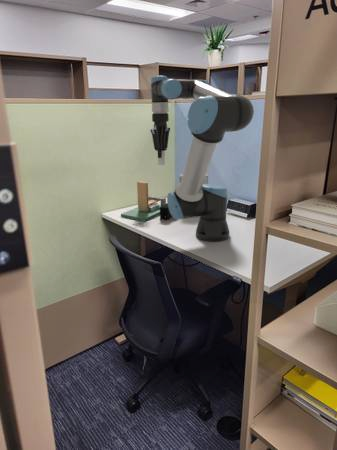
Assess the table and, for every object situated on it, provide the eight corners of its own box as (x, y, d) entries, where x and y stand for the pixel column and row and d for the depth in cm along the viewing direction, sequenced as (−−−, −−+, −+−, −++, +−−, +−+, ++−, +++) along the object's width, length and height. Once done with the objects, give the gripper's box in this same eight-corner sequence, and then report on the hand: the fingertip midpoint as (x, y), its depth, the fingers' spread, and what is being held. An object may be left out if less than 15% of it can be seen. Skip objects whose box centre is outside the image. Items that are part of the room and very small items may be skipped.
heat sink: (151, 212, 188) (150, 206, 187) (139, 209, 192) (139, 204, 191) (159, 208, 194) (159, 203, 193) (147, 206, 198) (147, 201, 197)
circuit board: (144, 221, 178) (144, 218, 177) (120, 216, 186) (120, 213, 186) (171, 209, 197) (171, 206, 197) (148, 205, 206) (148, 202, 205)
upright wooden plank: (147, 212, 187) (145, 183, 181) (138, 210, 190) (136, 181, 184) (162, 205, 198) (161, 177, 193) (154, 204, 201) (153, 176, 196)
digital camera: (169, 221, 178) (169, 208, 176) (160, 219, 180) (159, 206, 178) (178, 215, 187) (178, 202, 184) (169, 214, 189) (168, 201, 187)
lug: (162, 207, 195) (162, 199, 194) (148, 205, 200) (148, 196, 199) (165, 206, 198) (165, 197, 196) (151, 203, 203) (151, 195, 201)
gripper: (161, 112, 165) (162, 161, 173) (145, 113, 155) (147, 165, 163) (174, 112, 162) (175, 163, 169) (158, 113, 151) (160, 167, 159)
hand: (161, 164), depth 166 cm, fingers closed
